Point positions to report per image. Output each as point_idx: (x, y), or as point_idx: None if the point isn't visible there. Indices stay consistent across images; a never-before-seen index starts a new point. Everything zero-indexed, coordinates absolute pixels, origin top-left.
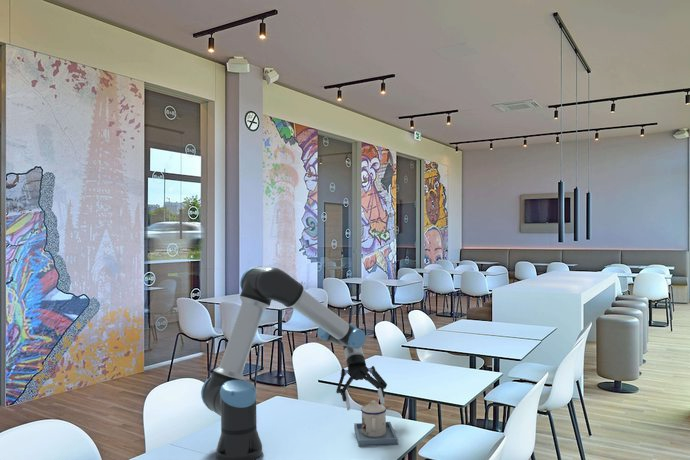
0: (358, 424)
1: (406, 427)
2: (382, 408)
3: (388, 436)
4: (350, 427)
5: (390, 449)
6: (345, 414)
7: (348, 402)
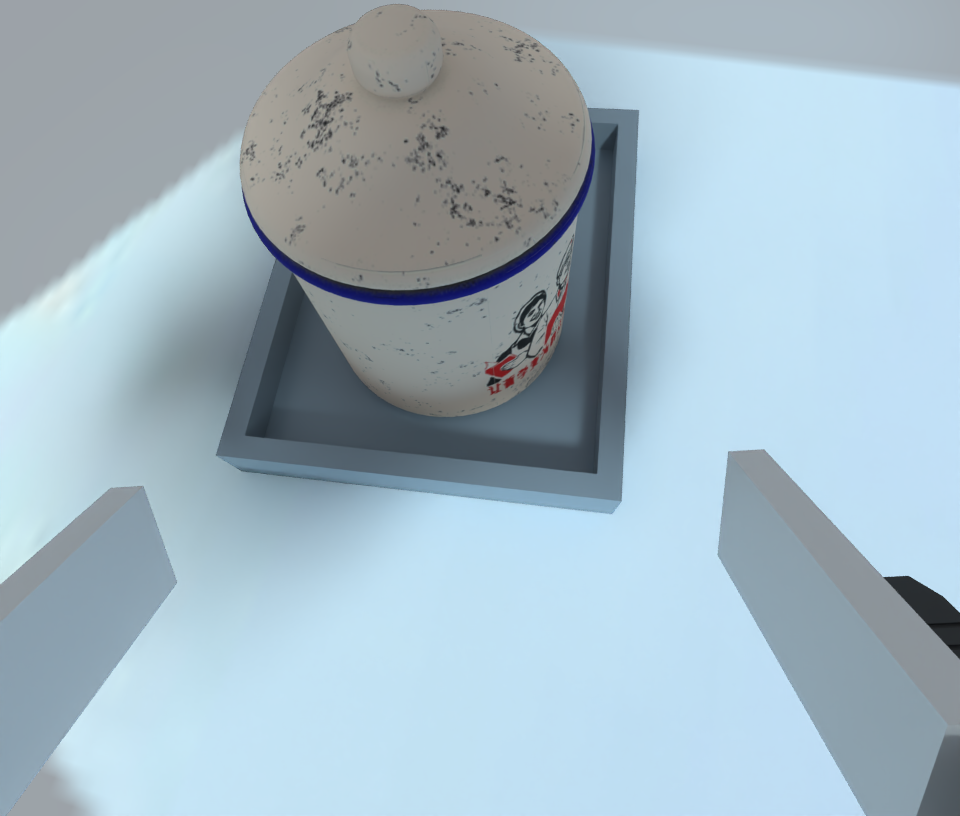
0: (572, 474)
1: (105, 426)
2: (309, 54)
3: None
4: (648, 563)
5: None
6: None
7: (786, 492)
